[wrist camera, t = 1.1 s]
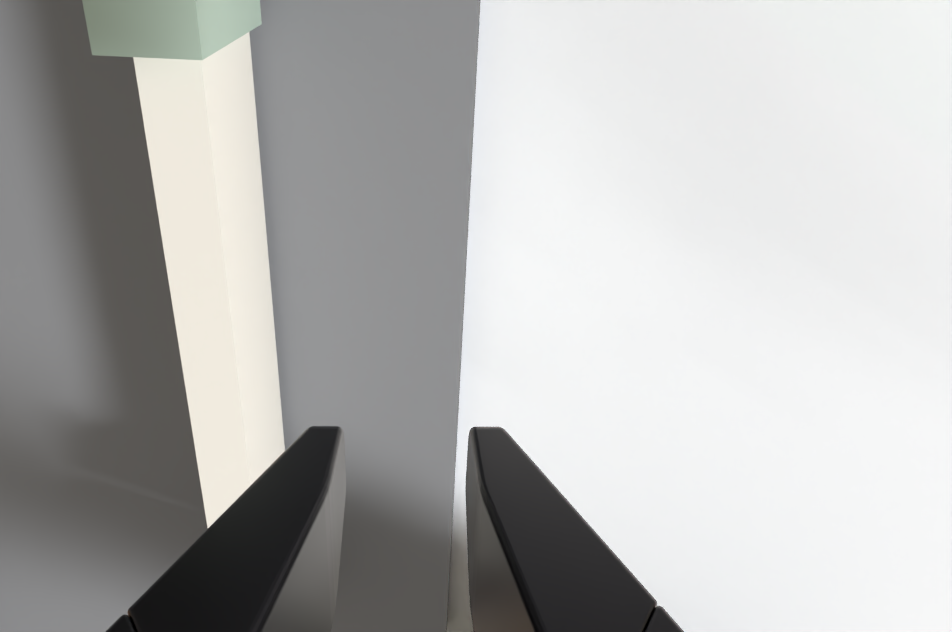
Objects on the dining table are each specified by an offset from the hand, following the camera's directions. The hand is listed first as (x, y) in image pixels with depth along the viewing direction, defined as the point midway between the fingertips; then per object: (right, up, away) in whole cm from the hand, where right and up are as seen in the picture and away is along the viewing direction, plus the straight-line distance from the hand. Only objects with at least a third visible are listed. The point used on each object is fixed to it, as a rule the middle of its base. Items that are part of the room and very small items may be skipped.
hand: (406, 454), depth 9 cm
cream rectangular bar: (-5, +2, +11) cm, 13 cm away
